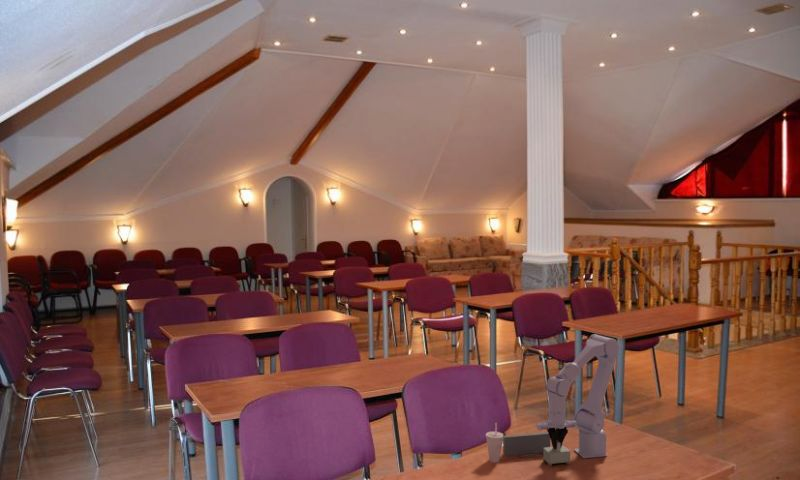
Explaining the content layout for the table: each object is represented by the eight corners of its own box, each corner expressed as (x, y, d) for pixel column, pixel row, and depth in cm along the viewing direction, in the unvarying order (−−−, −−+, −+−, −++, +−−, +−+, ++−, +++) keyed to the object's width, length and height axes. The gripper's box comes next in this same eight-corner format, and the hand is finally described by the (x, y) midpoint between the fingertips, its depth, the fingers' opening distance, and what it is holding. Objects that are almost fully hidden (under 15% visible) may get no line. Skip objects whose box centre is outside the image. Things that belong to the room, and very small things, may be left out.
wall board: (548, 450, 257) (548, 432, 256) (553, 454, 252) (553, 436, 252) (503, 454, 253) (503, 436, 253) (507, 459, 249) (507, 440, 248)
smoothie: (502, 464, 244) (503, 426, 243) (484, 463, 245) (484, 425, 244) (503, 457, 250) (503, 420, 249) (486, 456, 252) (486, 419, 250)
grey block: (563, 459, 249) (564, 437, 248) (570, 464, 244) (570, 443, 243) (543, 461, 247) (543, 439, 246) (549, 466, 242) (549, 445, 241)
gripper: (542, 416, 238) (542, 453, 239) (581, 412, 241) (580, 450, 242) (534, 409, 245) (534, 446, 246) (572, 406, 248) (571, 442, 249)
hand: (556, 447), depth 245 cm, fingers closed on grey block
